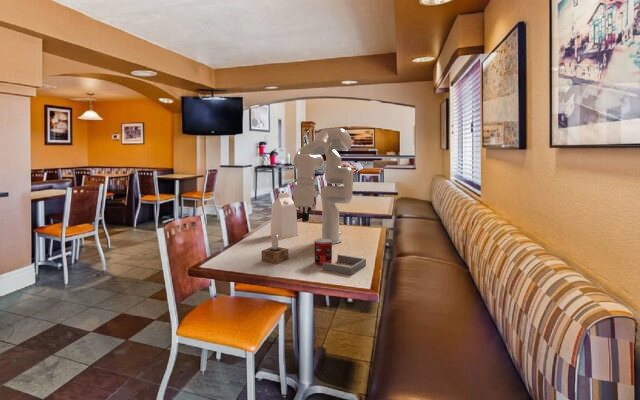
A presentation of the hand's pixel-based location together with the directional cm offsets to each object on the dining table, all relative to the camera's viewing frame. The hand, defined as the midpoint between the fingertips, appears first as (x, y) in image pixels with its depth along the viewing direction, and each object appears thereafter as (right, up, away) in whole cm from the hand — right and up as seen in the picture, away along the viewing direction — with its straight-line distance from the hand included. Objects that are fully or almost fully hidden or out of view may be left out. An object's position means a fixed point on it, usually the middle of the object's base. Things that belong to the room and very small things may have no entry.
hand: (305, 221), depth 171 cm
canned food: (+8, -20, -2) cm, 21 cm away
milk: (-15, -12, +53) cm, 56 cm away
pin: (-14, -19, +3) cm, 24 cm away
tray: (+18, -20, -8) cm, 28 cm away
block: (-14, -19, +3) cm, 24 cm away
